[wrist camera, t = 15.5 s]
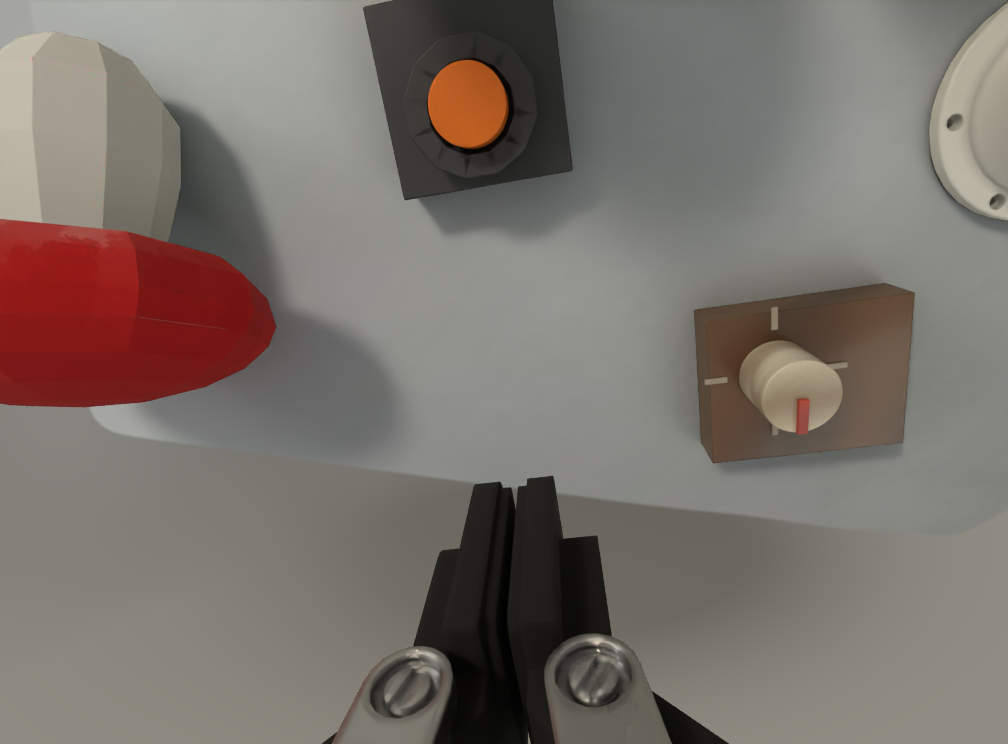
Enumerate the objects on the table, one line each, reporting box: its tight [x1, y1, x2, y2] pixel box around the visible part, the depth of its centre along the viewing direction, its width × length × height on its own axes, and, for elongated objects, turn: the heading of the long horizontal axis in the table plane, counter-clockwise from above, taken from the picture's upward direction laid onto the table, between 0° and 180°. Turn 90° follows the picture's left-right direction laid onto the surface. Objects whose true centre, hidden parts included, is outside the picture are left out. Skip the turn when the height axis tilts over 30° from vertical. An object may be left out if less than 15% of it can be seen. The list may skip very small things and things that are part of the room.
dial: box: [739, 340, 843, 435], centre depth 33 cm, size 4×4×4 cm
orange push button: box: [428, 60, 509, 149], centre depth 29 cm, size 4×4×2 cm
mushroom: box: [0, 32, 276, 407], centre depth 31 cm, size 20×19×20 cm
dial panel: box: [694, 283, 915, 463], centre depth 36 cm, size 12×10×3 cm
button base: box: [363, 0, 573, 200], centre depth 31 cm, size 10×10×5 cm
